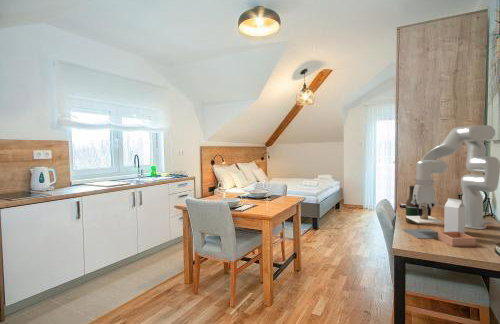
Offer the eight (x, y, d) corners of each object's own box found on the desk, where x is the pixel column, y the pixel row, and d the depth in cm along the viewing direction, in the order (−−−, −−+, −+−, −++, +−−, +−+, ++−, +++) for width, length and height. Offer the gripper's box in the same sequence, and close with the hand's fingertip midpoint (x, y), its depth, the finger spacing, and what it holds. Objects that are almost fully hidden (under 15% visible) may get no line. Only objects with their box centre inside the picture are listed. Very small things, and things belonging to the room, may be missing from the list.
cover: (428, 217, 162) (428, 205, 161) (443, 222, 149) (443, 210, 148) (406, 217, 162) (406, 205, 162) (418, 223, 149) (418, 210, 149)
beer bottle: (419, 225, 173) (419, 187, 172) (405, 223, 177) (405, 186, 176) (419, 222, 180) (419, 185, 179) (406, 220, 184) (405, 184, 183)
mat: (430, 229, 164) (430, 228, 164) (448, 238, 148) (448, 237, 148) (402, 230, 164) (402, 229, 164) (417, 238, 148) (417, 237, 148)
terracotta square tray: (459, 239, 146) (459, 231, 146) (475, 246, 135) (475, 238, 135) (437, 239, 146) (437, 231, 146) (452, 246, 135) (452, 238, 135)
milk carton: (458, 235, 152) (458, 200, 152) (444, 231, 159) (444, 198, 158) (465, 232, 156) (465, 199, 155) (451, 229, 162) (451, 197, 161)
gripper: (435, 181, 158) (435, 213, 159) (405, 182, 159) (405, 214, 159) (444, 183, 151) (443, 216, 151) (412, 183, 151) (412, 217, 152)
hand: (423, 215), depth 155 cm, fingers closed on cover, 4 cm apart
